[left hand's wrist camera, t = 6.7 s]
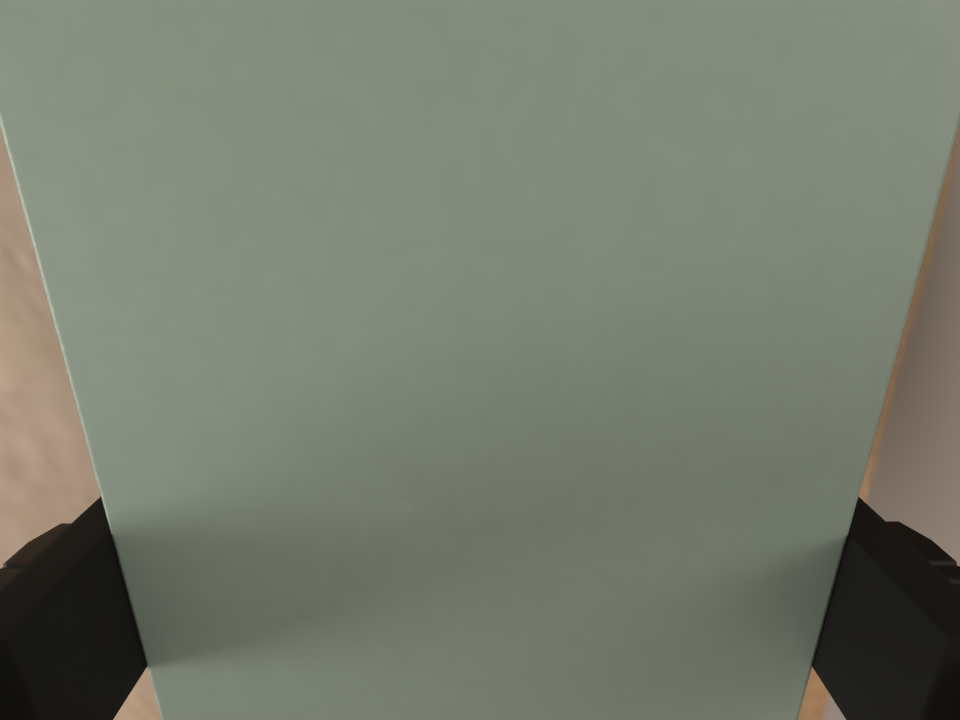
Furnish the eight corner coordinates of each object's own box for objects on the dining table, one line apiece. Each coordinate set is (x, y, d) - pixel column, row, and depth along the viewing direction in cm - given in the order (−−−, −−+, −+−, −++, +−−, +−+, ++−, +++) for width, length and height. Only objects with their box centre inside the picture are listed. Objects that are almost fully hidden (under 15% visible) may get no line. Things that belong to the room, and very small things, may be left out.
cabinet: (195, -334, 11) (-412, -1362, 4) (765, -334, 11) (1374, -1367, 4) (301, 495, 18) (167, 753, 10) (658, 495, 18) (790, 753, 10)
